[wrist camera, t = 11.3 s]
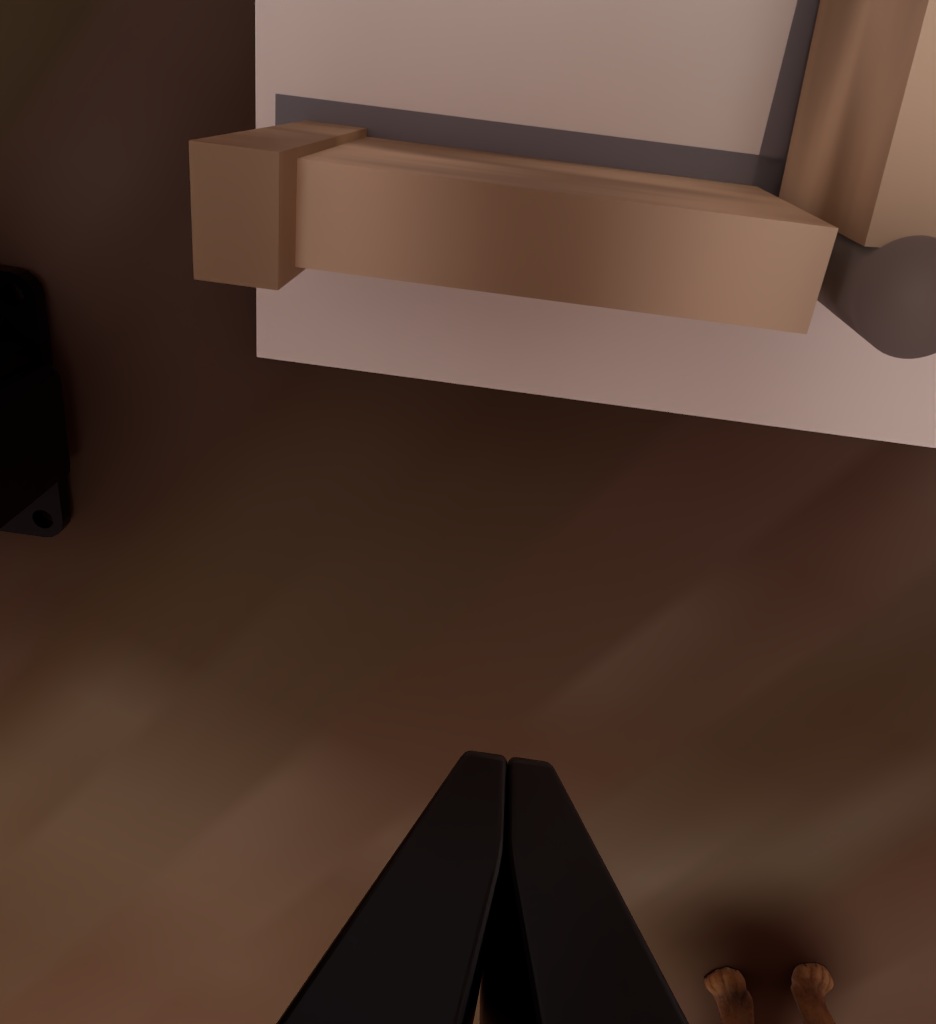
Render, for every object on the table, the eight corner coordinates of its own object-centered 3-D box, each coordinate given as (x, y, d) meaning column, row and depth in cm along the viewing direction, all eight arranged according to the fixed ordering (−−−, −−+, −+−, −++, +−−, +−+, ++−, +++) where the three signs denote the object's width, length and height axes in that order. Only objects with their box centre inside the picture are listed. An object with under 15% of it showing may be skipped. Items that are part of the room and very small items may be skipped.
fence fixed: (307, 214, 18) (194, 278, 12) (310, 119, 17) (188, 140, 11) (731, 269, 17) (821, 361, 12) (755, 176, 17) (863, 227, 11)
